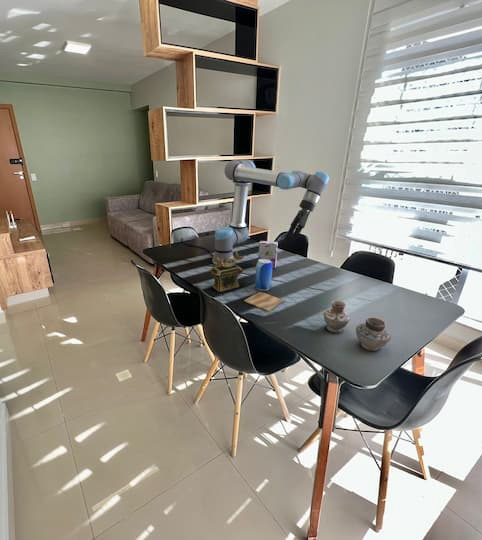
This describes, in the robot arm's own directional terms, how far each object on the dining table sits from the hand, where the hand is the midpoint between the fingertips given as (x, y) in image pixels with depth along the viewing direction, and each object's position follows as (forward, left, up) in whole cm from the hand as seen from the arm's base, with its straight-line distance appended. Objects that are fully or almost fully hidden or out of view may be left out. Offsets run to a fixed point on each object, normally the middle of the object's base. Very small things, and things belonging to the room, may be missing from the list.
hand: (290, 239), depth 155 cm
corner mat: (+5, -29, -25) cm, 38 cm away
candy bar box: (-21, +12, -25) cm, 35 cm away
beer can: (-4, -17, -25) cm, 31 cm away
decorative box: (-19, -28, -25) cm, 42 cm away
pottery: (+47, -30, -25) cm, 61 cm away
